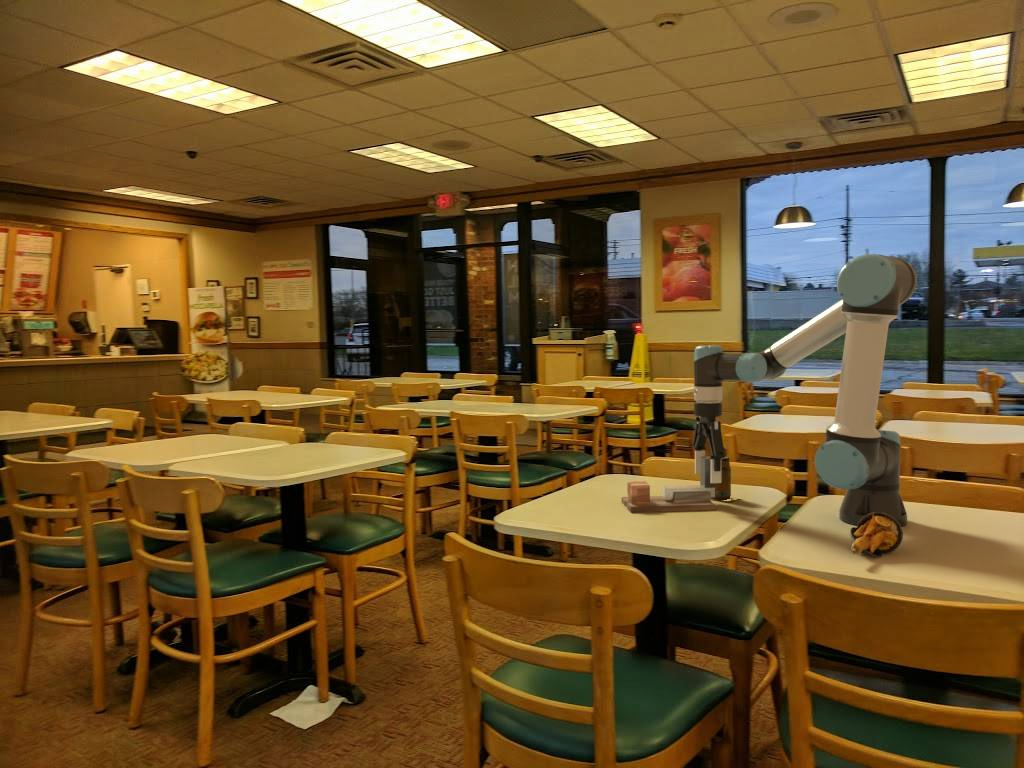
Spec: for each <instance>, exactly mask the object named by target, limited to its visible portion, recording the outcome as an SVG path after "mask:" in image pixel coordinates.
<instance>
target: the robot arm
mask: <svg viewBox="0 0 1024 768" xmlns="http://www.w3.org/2000/svg"><path fill="white" fill-rule="evenodd" d="M917 284H918V278H917V273H916V271H915V269H914V267H913V266H912V265H911V263H910V262H908V261H906V260H905V259H902V258H900V257H894V256H887V255H884V254H880V253H879V254H877V253H872V254H860V255H857V256H855V257H853V258H852V259H850V260H849V261H848V262H846V263H845V264H844V265H843V266H842V268H841V270H839V273H838V275H837V278H836V289H837V293H838V296H840V298H841V299H840V300H838V301H837V302H836V303H833V304H832V305H831V306H830V307H827V308H826V309H825V310H823V311H822V312H820V313H819V314H817V315H816V316H814V317H813V318H811V319H810V320H808V321H806V322H805V323H803V324H802V325H800V326H799V327H798V328H796V329H794V330H793V331H791V332H790V333H788V334H787V335H785V336H783V337H782V338H780V339H779V340H777V341H776V342H774V343H773V344H772V345H770V346H768V347H767V348H766V349H764V350H762V351H759V352H731V353H727V352H724V351H723V347H722V345H698V346H697V345H696V347H695V349H694V356H693V371H694V372H693V377H694V378H693V379H694V380H693V381H694V383H693V385H694V386H693V389H692V391H691V392H692V394H693V399H694V401H695V402H694V403H693V415H694V416H695V426H694V432H693V439H692V444H691V446H692V448H693V450H694V474H696V475H697V474H700V457H706V450H707V448H706V443H708V446H709V449H710V450H709V451H710V456H711V457H710V459H711V483H721V459H722V458H725V457H726V455H725V447H724V446H725V445H724V441H723V433H722V425H721V424H722V423H721V421H717V417H721V416H722V415H723V403H722V402H721V401H723V382H725V381H728V382H739V383H740V382H743V383H759V382H761V381H762V380H774V379H777V378H779V377H782V376H783V375H784V374H785V372H786V371H787V370H788V369H789V368H790V367H792V366H793V365H795V364H797V363H798V362H800V361H801V360H803V359H805V358H806V357H808V356H810V355H811V354H813V353H814V352H817V351H818V350H820V349H822V348H823V347H824V346H826V345H828V344H829V343H831V342H832V341H835V340H836V339H837V338H839V337H841V336H843V335H844V334H845V336H844V345H843V353H842V360H841V369H840V376H839V381H838V382H839V383H838V392H837V400H836V406H835V414H834V421H833V422H832V423H831V424H829V425H828V426H826V430H825V437H824V442H823V444H821V445H820V446H819V448H818V449H817V451H816V453H815V455H814V467H815V471H816V473H817V474H818V475H819V477H820V478H821V479H822V481H823V482H824V483H826V484H827V485H828V486H830V487H831V488H832V487H833V488H835V489H837V490H846V491H845V494H844V497H843V498H842V502H841V504H840V507H839V514H838V515H839V516H838V517H839V519H840V520H841V521H842V522H845V523H847V524H850V525H854V526H857V525H858V523H859V521H860V520H861V519H862V518H863V517H864V516H865V515H867V514H869V513H872V512H883V513H887V514H889V515H891V516H893V517H894V518H895V519H896V520H897V521H898V522H899V524H900V526H901V528H902V527H904V526H907V525H908V514H907V510H906V507H905V505H904V502H903V498H902V496H901V491H900V483H901V482H900V479H901V478H900V477H901V448H902V444H901V436H900V434H899V433H898V432H897V431H894V430H893V431H892V430H882V429H877V428H876V420H877V413H878V406H879V405H878V403H879V399H880V390H881V383H882V377H883V376H882V375H883V368H884V363H885V354H886V347H887V339H888V333H889V332H888V331H889V327H890V326H889V325H890V323H892V321H893V320H895V319H896V318H897V317H898V316H899V315H898V314H899V307H900V306H901V305H903V304H904V303H906V302H907V301H909V299H910V298H911V297H912V296H913V295H914V292H915V291H916V290H917V286H918V285H917Z"/></svg>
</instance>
